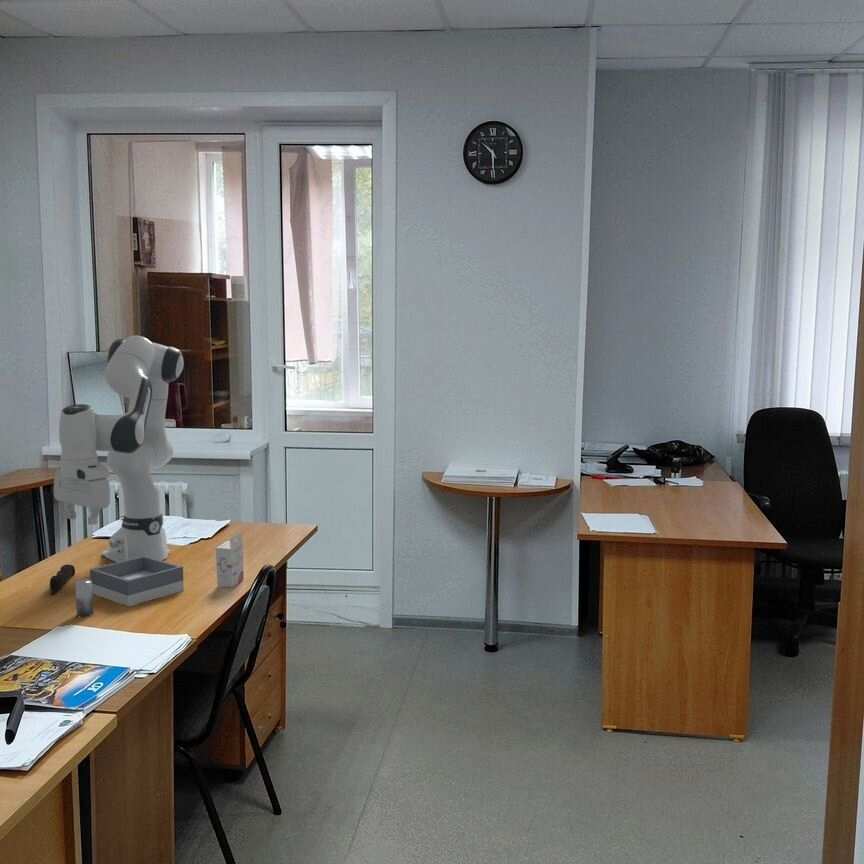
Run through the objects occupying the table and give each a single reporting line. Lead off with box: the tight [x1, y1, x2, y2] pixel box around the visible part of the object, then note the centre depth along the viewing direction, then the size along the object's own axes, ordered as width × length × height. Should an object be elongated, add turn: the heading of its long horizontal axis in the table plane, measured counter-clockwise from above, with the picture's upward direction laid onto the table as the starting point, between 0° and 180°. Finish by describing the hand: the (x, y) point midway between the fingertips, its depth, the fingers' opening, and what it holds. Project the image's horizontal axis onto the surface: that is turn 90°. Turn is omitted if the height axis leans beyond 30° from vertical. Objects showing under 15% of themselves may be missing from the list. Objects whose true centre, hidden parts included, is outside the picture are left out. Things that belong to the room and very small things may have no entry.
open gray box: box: [89, 556, 185, 607], centre depth 255 cm, size 18×18×7 cm
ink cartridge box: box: [215, 531, 244, 588], centre depth 264 cm, size 9×5×15 cm, turn 168°
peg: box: [75, 578, 94, 618], centre depth 236 cm, size 4×4×9 cm
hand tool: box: [49, 564, 76, 596], centre depth 260 cm, size 19×4×5 cm, turn 6°
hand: (82, 521), depth 233 cm, fingers open, 8 cm apart
